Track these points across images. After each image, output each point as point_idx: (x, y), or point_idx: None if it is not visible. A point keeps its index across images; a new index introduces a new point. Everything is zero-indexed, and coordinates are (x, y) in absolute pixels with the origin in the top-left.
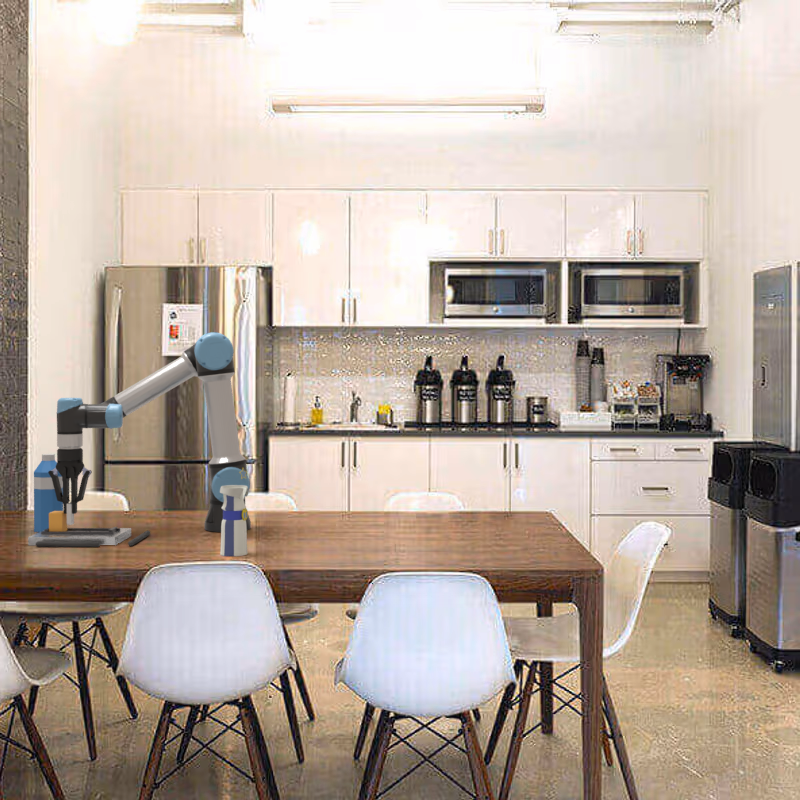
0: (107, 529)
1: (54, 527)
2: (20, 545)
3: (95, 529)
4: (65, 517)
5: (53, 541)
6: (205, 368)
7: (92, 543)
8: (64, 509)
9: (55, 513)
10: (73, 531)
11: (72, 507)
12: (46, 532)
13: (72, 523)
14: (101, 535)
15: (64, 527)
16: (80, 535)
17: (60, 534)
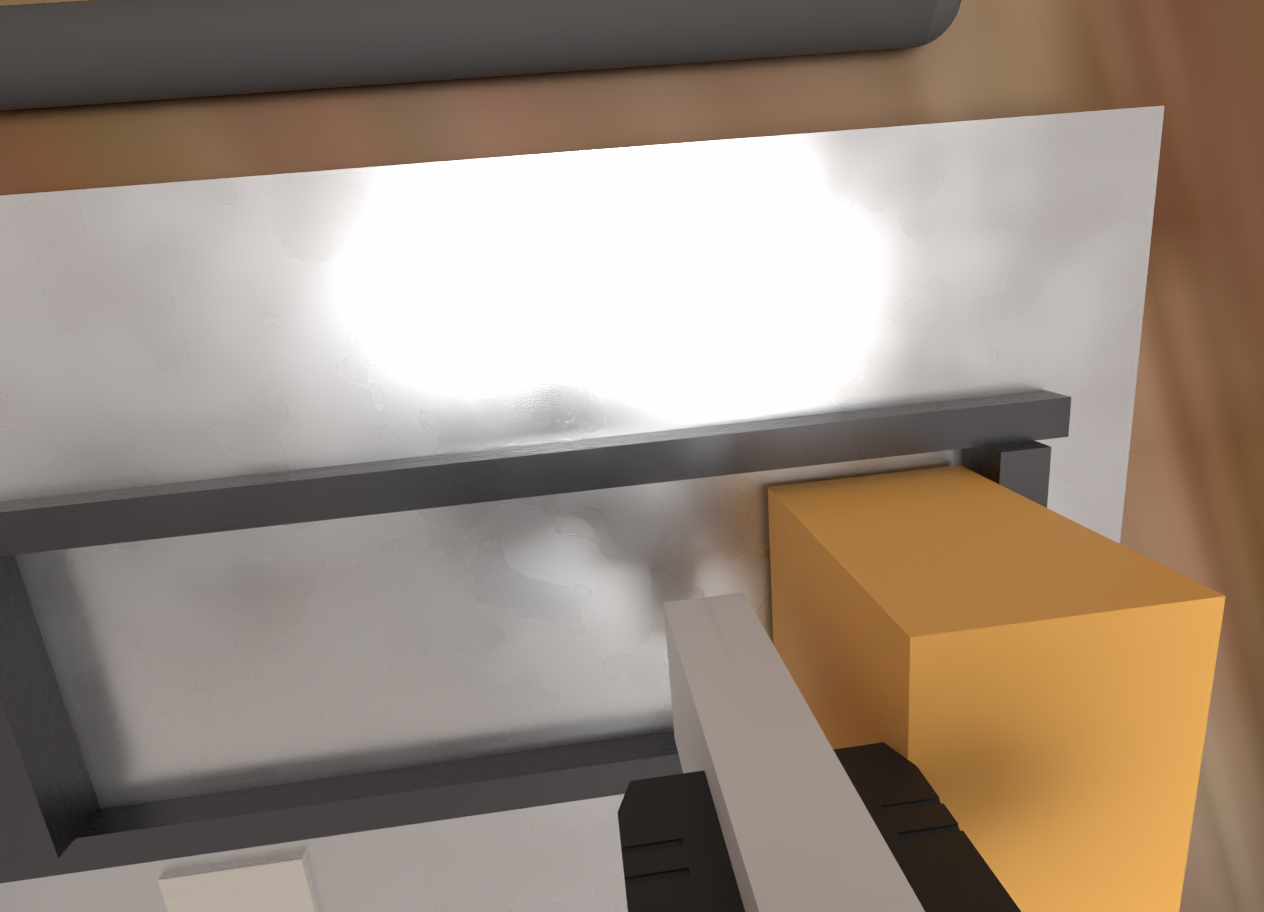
0: (192, 812)
1: (917, 500)
2: (1170, 125)
3: (378, 786)
4: None
5: (706, 4)
6: None
7: (25, 5)
8: (925, 814)
9: (1061, 616)
10: (577, 482)
11: (725, 903)
12: (983, 403)
13: (669, 667)
14: (42, 394)
15: (791, 622)
16: (401, 353)
17: (758, 410)
